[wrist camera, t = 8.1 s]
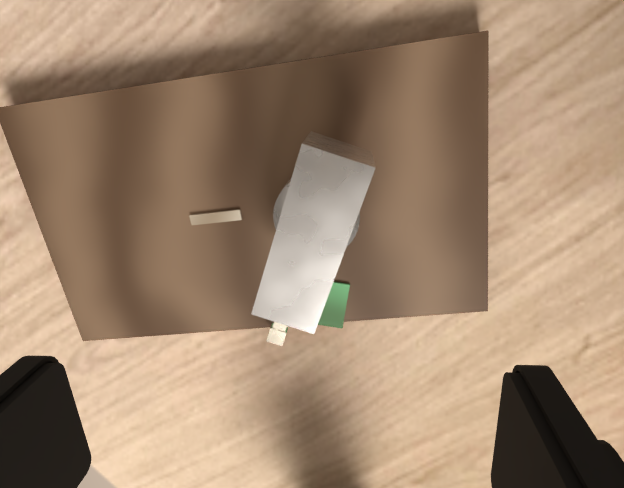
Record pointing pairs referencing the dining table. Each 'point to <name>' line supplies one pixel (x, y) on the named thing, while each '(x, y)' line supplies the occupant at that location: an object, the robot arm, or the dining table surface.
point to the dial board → (261, 187)
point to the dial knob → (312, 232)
